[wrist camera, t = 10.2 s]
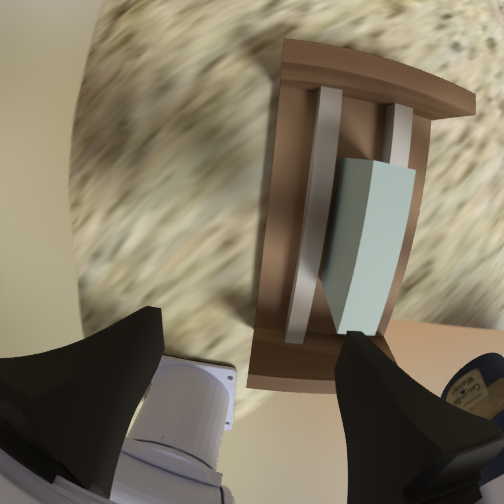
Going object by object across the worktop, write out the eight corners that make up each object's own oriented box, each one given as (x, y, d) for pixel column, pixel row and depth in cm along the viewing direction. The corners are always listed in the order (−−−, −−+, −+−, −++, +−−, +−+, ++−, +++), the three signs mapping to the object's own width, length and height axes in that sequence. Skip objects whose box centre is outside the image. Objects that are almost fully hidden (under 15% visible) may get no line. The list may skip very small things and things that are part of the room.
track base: (375, 341, 21) (397, 392, 15) (253, 332, 21) (246, 387, 16) (425, 105, 15) (475, 94, 9) (281, 73, 15) (283, 38, 10)
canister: (487, 391, 23) (540, 489, 6) (428, 418, 24) (469, 537, 8) (507, 334, 20) (587, 442, 3) (442, 364, 22) (513, 509, 5)
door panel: (349, 283, 18) (374, 335, 13) (321, 280, 18) (337, 333, 13) (371, 163, 16) (415, 170, 10) (340, 157, 16) (373, 160, 10)
